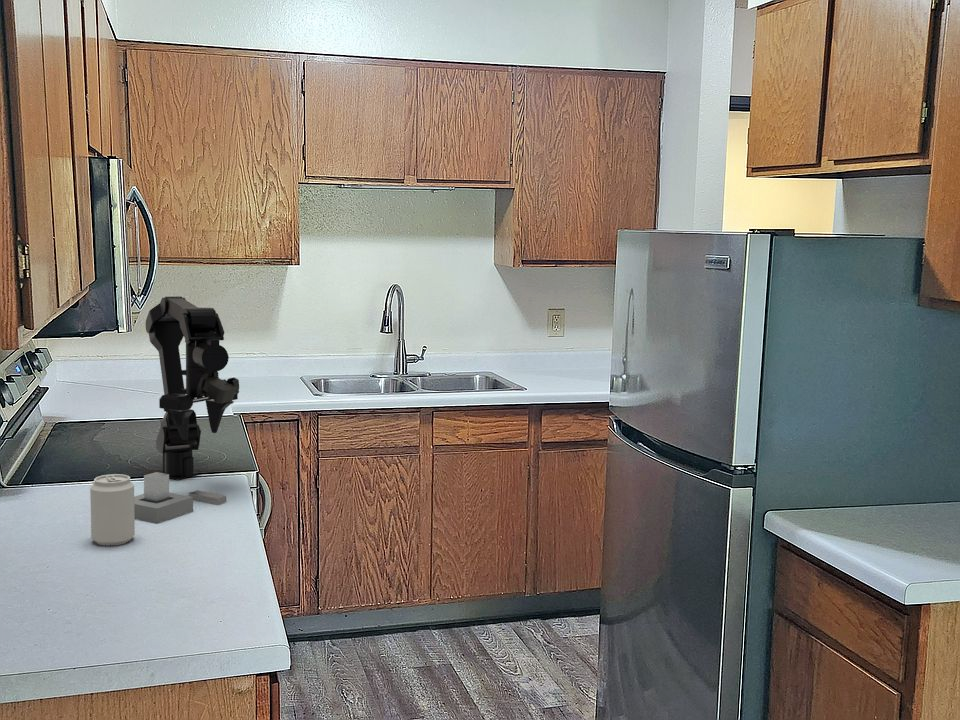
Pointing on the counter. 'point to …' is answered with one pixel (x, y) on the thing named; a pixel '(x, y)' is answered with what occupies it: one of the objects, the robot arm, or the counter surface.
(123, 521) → the can
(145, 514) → the bore block
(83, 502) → the counter surface
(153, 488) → the square bit
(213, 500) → the flat bit
